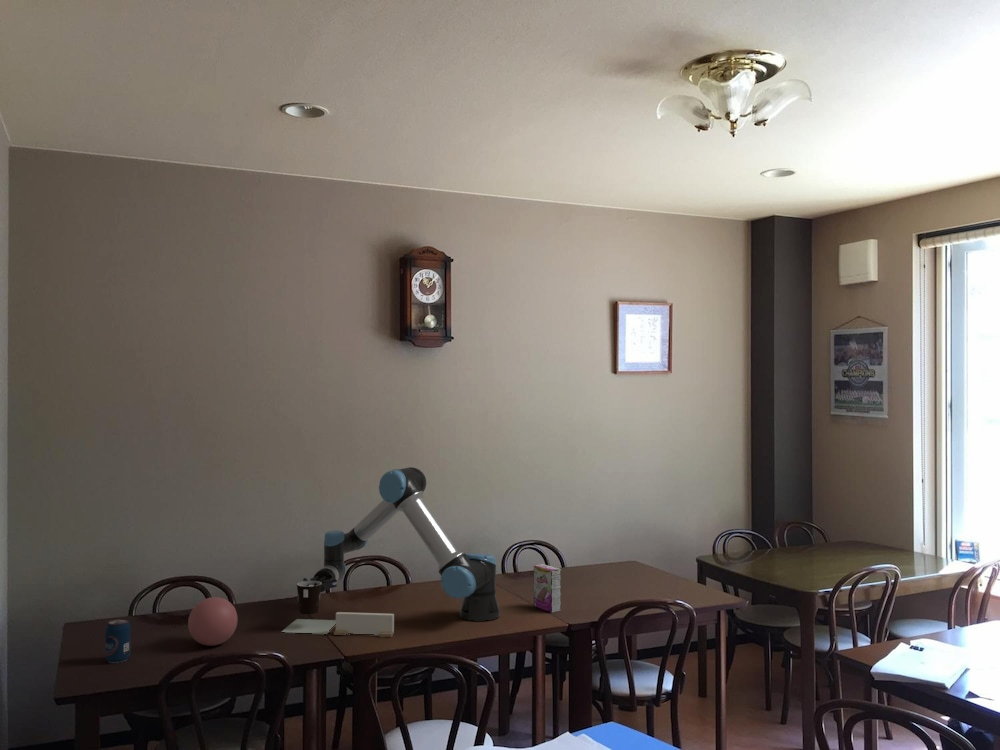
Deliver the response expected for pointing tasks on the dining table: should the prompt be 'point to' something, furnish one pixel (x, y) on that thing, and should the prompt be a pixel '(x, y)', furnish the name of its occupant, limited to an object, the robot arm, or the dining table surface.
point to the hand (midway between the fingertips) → (305, 593)
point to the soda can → (117, 641)
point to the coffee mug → (309, 597)
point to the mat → (310, 626)
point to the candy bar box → (547, 588)
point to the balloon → (212, 621)
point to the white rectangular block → (364, 623)
